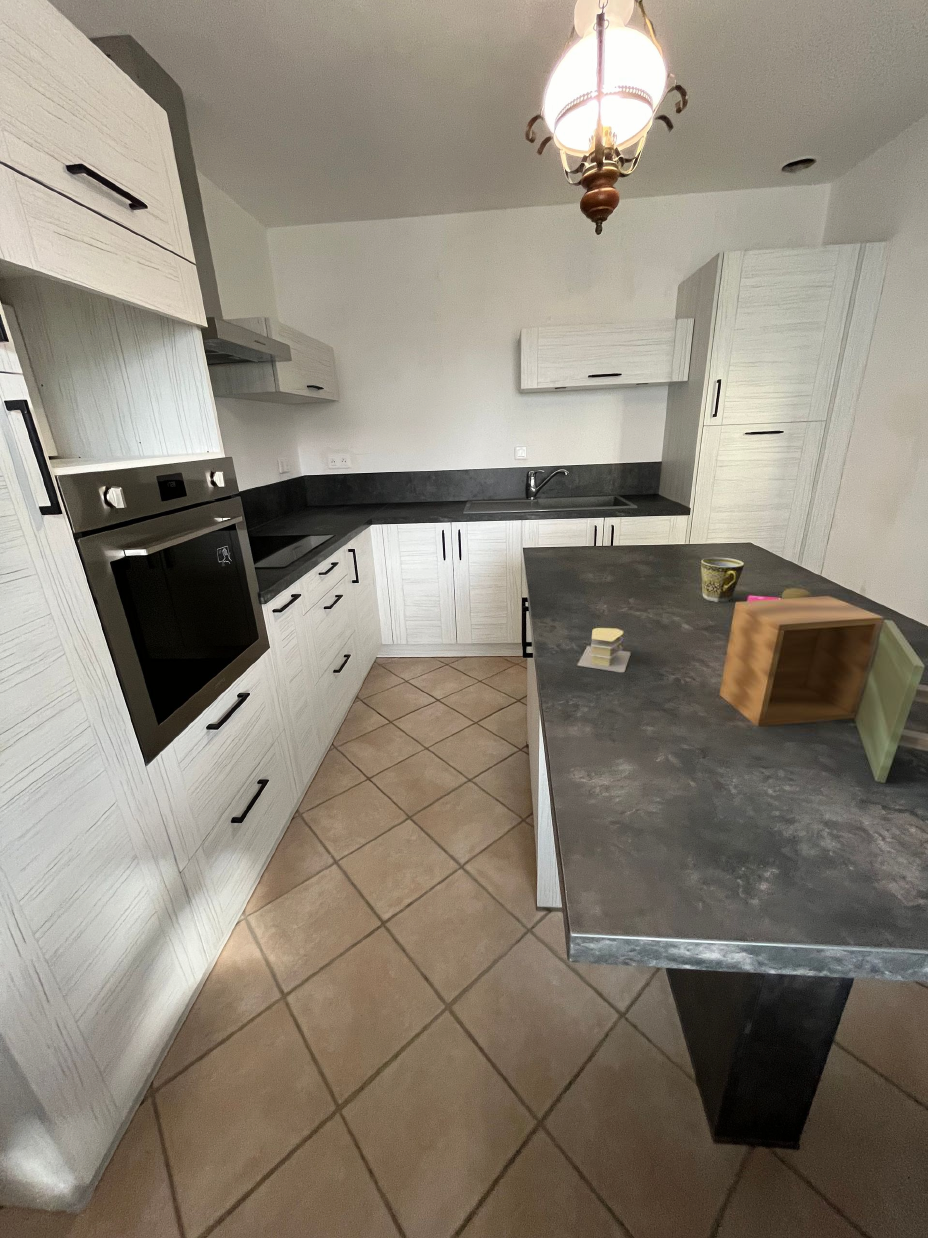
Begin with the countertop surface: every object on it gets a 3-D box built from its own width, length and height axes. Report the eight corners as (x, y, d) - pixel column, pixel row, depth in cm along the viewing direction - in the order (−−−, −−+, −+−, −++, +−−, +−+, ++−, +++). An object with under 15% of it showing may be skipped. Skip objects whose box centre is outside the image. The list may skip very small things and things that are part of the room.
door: (910, 730, 72) (947, 626, 66) (945, 798, 59) (994, 676, 53) (854, 719, 76) (883, 619, 70) (875, 781, 63) (914, 664, 57)
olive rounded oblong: (766, 638, 105) (776, 589, 101) (777, 630, 109) (787, 583, 105) (798, 646, 101) (810, 596, 97) (808, 638, 105) (820, 589, 101)
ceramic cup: (690, 592, 136) (695, 557, 132) (727, 592, 135) (733, 556, 131) (710, 608, 123) (716, 570, 120) (750, 607, 123) (758, 569, 119)
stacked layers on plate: (624, 673, 93) (626, 646, 91) (577, 665, 96) (578, 640, 94) (630, 652, 101) (633, 627, 99) (587, 646, 105) (588, 622, 103)
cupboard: (853, 718, 76) (883, 617, 70) (757, 727, 75) (779, 624, 69) (805, 687, 85) (828, 595, 79) (719, 694, 84) (735, 601, 78)
